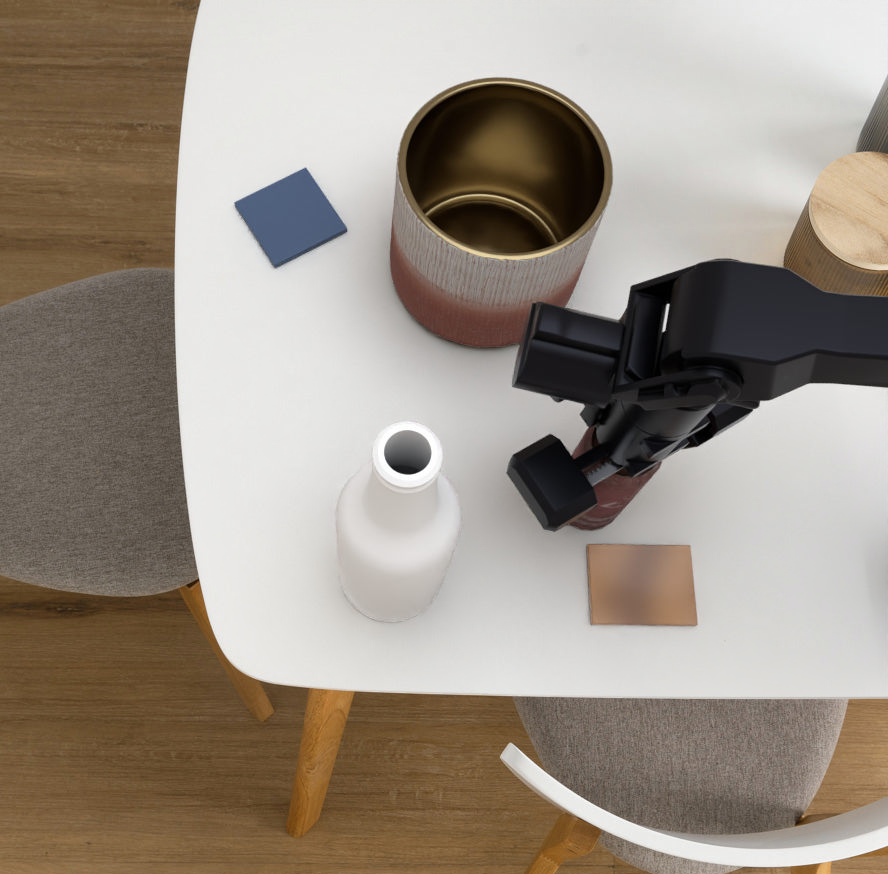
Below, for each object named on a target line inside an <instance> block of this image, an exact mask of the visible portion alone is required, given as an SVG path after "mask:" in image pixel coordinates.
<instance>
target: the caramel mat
mask: <svg viewBox="0 0 888 874" xmlns="http://www.w3.org/2000/svg"><path fill="white" fill-rule="evenodd" d="M586 557H587V558H586V560H587V574H588V575H587V577H588V593H589V609H590V625H592V626H655V627H657V626H662V627H663V626H664V627H667V626H668V627H669V626H670V627H672V626H673V627H696V626H698V625H699V624H698V623H699V622H698V613H697V604H696V603H697V602H696V593H695V582H694V581H695V580H694V570H693V558H692V548H691V545H688V544H623V543H622V544H615V543H613V544H611V543H588V544H586Z"/></svg>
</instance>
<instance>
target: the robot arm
mask: <svg viewBox="0 0 888 874" xmlns="http://www.w3.org/2000/svg"><path fill="white" fill-rule="evenodd" d="M667 306H668V311H667ZM666 312H667V313H666ZM666 314H667V316H666ZM665 317H666V323H665ZM664 324H665V329H664ZM517 349H518V350H517V354H516V358H515V363H514V368H513V372H512V373H513V374H512V379H511V388H514V389H517V390H521V391H526V392H531V393H534V394H539V395H543V396H547V397H550V398H551V399H552V400H553V401H554V403H557V404H558V403H562V402H563V401H569V402H573V403H578V404H581V405H583V406H584V407H583V408H582V410H581V411H580V413H579V416H580V417H581V419H582V420H583V422H584V424H585V425H586V426H587V427H589V428H591V427H593V426H594V425H595V427H596V428H597V431H596V433H597V439H598V442H599V445H597V446H596V447H594V448H592V449H590V450H589V451H587V452H585V453H584V454H582V455H580V456H578V457H577V458H575V459H573V457H572V456H571V455H572V454H571V453H570V451H569V450H568V448H567V447H566V445H565V444H564V443H563V441H562V440H561V438H559V437H557V436H556V435H554V434H553V433H548V434H547V435H545V436H543V437H541V438H540V439H538V440H536V441H534V442H533V443H531V444H529V445H527V446H526V447H524V448H522V449H520V450H518V451H517V452H515V453H513V454H512V456H511V457H510V459H509V462H508V463H507V467H506V472H505V473H506V475H507V476H508V478H509V479H510V482H512V484H513V485H514V487H515V488H516V491H517V492H518V493H519V495H520V496H521V498H522V499H523V500H524V502H525V503H526V505H527V507H528V508H529V509H530V511H531V513H532V514H533V515H534V517H535V519H536V520H537V522H538V523H539V524H540V526H541V528H542V529H543V531H548V532H551V533H556V532H558V531H560V530H561V529H562V528H564V527H566V526H567V525H570V524H569V523H571V522H573V521H574V520H576V519H578V518H579V517H581V516H583V515H584V514H586V513H587V512H589V511H591V510H592V509H594V508H596V507H597V504H598V501H597V497H596V494H595V490H594V488H593V486H594V485H596V484H597V483H599V482H601V481H602V480H604V479H606V478H607V477H609V476H611V475H613V474H614V473H616V472H618V471H619V470H621V469H623V468H625V470H626V471H627V472H628V474H629V475H630V477H631V478H634V477H635V476H637V475H639V474H640V473H642V472H644V471H645V470H647V469H649V468H651V467H652V466H654V465H656V464H657V463H659V462H661V461H662V462H663V461H664V460H666V459H668V458H669V457H670V456H673V455H674V454H676V453H678V452H679V451H681V450H688V449H694V448H698V447H700V446H702V445H704V444H705V443H707V442H708V441H710V440H711V439H714V438H715V437H717V436H719V435H720V434H722V433H724V432H726V431H727V430H729V429H731V428H732V427H734V426H736V425H738V424H739V423H741V422H742V421H744V420H746V418H748V417H749V416H750V415H751V414H752V413H753V412H754V410H756V409H759V407H760V405H761V402H768V401H772V400H775V399H777V398H779V397H782V396H784V395H786V394H788V393H791V392H792V391H794V390H798V389H799V388H802V387H804V386H807V385H809V384H831V385H844V386H845V385H847V386H858V387H859V386H860V387H871V388H883V389H884V388H885V389H888V295H873V294H869V295H868V294H851V293H842V292H835V291H826V290H824V289H821V288H820V287H819V286H817V285H815V284H813V283H812V282H811V281H809V280H807V279H806V278H804V277H803V276H801V275H800V274H798V273H796V272H795V271H793V270H792V269H790V268H788V267H784V266H777V265H772V264H771V265H770V264H762V263H755V262H748V261H743V260H742V261H741V260H739V259H735V258H725V257H723V258H722V257H721V258H714V259H710V260H705V261H700V262H698V263H696V264H693V265H690V266H687V267H684V268H681V269H678V270H674V271H672V272H669V273H668V272H667V273H666V274H662V275H660V276H657V277H654V278H650V279H647V280H644V281H642V282H638V283H635V284H632V285H631V286H630V287H629V293H628V299H627V305H626V309H625V310H624V312H623V313H622V315H621V317H620V318H619V319H617V318H613V317H609V316H604V315H600V314H597V313H592V312H586V311H582V310H578V309H574V308H570V307H566V306H565V307H561V306H557V305H553V304H548V303H544V302H540V301H537V302H536V303H532V305H531V308H530V311H529V314H528V317H527V320H526V323H525V327H524V330H523V334H522V338H521V341H520V342H519V346H518V348H517ZM608 458H610V460H609V461H608V462H609V463H607V462H605V463H604V465H605V466H604V465H600V468H598V467H596V471H595V470H592V471H591V473H592V474H591V473H590V472H588V473H587V476H586V475H584V472H586V471H587V470H589V469H591V468H593V467H594V466H596V465H598V464H599V463H601V462H603V461H605V460H606V459H608ZM612 460H613V461H612Z"/></svg>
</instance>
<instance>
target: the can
mask: <svg viewBox="0 0 888 874" xmlns="http://www.w3.org/2000/svg"><path fill="white" fill-rule="evenodd" d="M587 427H588V426H587ZM596 431H597V428H596V427H595V425H594V426H593V427H591V428H589V427H588V428H587V429H586V431H585V432H584V434H583V436H582V437H581V439H580V441H579V442H578V444H577V445H576V447H575V449H574V450H573V452H572V454H571V456H572V457H573V459H575V458H577V457H578V456H580V455H582V454H584V453H585V452H587V451H589V450H590V449H592V448H594V447H596V446H597V445H599V442H598V439H597V433H596ZM609 460H610V458H608V459H606V460H605V461H603V462H601V463H599V464H598V465H596V466H594V467H593V468H591V469H589V470H587V471H586V472H584V475H586V476H587V473H588V472H590V473H591V471H592V470H595V471H596V467H598V468H600V465H604V463H605V462H607V463H609V462H608V461H609ZM612 461H613V460H612ZM662 462H663V460H662V461H661V462H659V463H657V464H656V465H654V466H652V467H651V468H649V469H647V470H645V471H644V472H642V473H640V474H639V475H637V476H635V477H634V478H631V477H630V475H629V474H628V472H627V471H626V470H625V468H623V469H621V470H619V471H618V472H616V473H614V474H613V475H611V476H609V477H607V478H606V479H604V480H602V481H601V482H599V483H597V484H596V485H594V486H593V488H594V490H595V494H596V497H597V501H598V504H597V507H596V508H594V509H592V510H591V511H589V512H587V513H586V514H584V515H583V516H581V517H579V518H578V519H576V520H574V521H573V522H571V523H569V524H568V525H569V526H571V527H574V528H576V529H579V530H583V531H584V530H585V531H595V530H599V529H603V528H605V527H607V526H608V525H610V524H611V523H613V522H614V520H615V519H617V517H618V516H619V515H620V514H621V512H623V511H624V509H625V508H627V506H628V505H629V503H631V502H632V500H633V499H634V498H635V497H636V496H637V495H638V494H639V492H641V490H642V489H643V488H644V487H645V486H646V485H647V484H648V483H649V481H650V480H651V479H652V478H653V477H654V476H655V474H656V473H657V472H658V471H659V470H660V468H661V466H662ZM604 466H605V465H604ZM591 474H592V473H591Z"/></svg>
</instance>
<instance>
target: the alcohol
mask: <svg viewBox="0 0 888 874" xmlns="http://www.w3.org/2000/svg"><path fill="white" fill-rule="evenodd" d="M443 456H444V455H443V447H442V444H441V441H440V439H439V437H437V435H436V434H435V432H433V431H432V430H431V429H430V428H429V427H427V426H426V425H424V424H421V423H418V422H414V421H399V422H395V423H393V424H390V425H388V426H387V427H385V428H384V429H383V430H382V431H381V432H380V433H379V434H378V436H376V439H375V441H374V443H373V447H372V456H371V460H369V461H368V462H366V463H365V464H363V465H362V466H360V467H359V468H358V469H357V470H356V471H355V472H354V473H353V474H352V475H351V476H350V477H349V478H348V480H347V481H346V482H345V484H344V485H343V486H342V489H341V491H340V493H339V495H338V498H337V500H336V506H335V512H334V517H335V518H334V519H335V521H334V522H335V535H336V549H337V559H338V560H337V561H338V572H339V581H340V585H341V589H342V591H343V592H344V595H345V597H346V599H347V600H348V601H349V602H350V604H351V605H352V606H353V607H354V608H355V609H356V610H357V611H358V612H360V613H361V614H363V615H364V616H366V617H367V618H370V619H373V620H375V621H378V622H385V623H399V622H404V621H407V620H410V619H413V618H415V617H417V616H419V615H420V614H421V613H423V612H424V611H425V610H427V609H428V608H429V607H430V606H431V604H432V603H434V601H435V599H436V597H437V596H438V594H439V592H440V589H441V587H442V583H443V581H444V578H445V575H446V573H447V571H448V568H449V565H450V562H451V560H452V558H453V554H454V551H455V549H456V546H457V545H458V541H459V538H460V535H461V531H462V525H463V511H462V506H461V501H460V498H459V496H458V494H457V493H458V492H457V491H456V489H455V488H454V486H453V484H452V482H451V481H450V479H449V478H448V477H447V475H446V474H445V472H443V471H442V470H441V466H442V463H443Z"/></svg>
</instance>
